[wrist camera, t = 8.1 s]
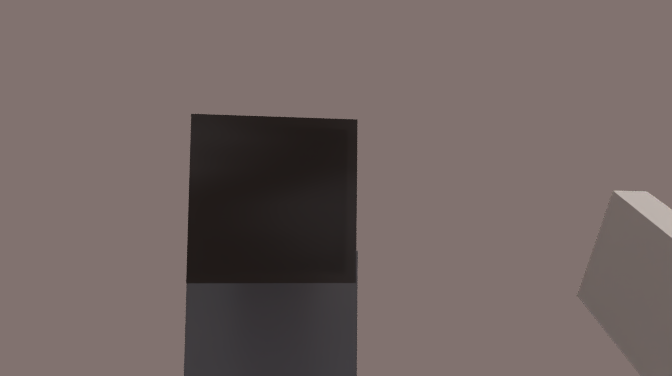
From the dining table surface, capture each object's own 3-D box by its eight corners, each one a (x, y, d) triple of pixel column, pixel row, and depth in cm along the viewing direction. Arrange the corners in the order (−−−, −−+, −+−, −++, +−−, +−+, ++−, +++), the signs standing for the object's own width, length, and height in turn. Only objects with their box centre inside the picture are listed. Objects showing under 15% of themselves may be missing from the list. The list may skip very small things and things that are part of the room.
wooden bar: (186, 283, 10) (191, 114, 10) (250, 238, 36) (251, 189, 36) (355, 282, 11) (357, 119, 11) (299, 239, 36) (300, 190, 37)
